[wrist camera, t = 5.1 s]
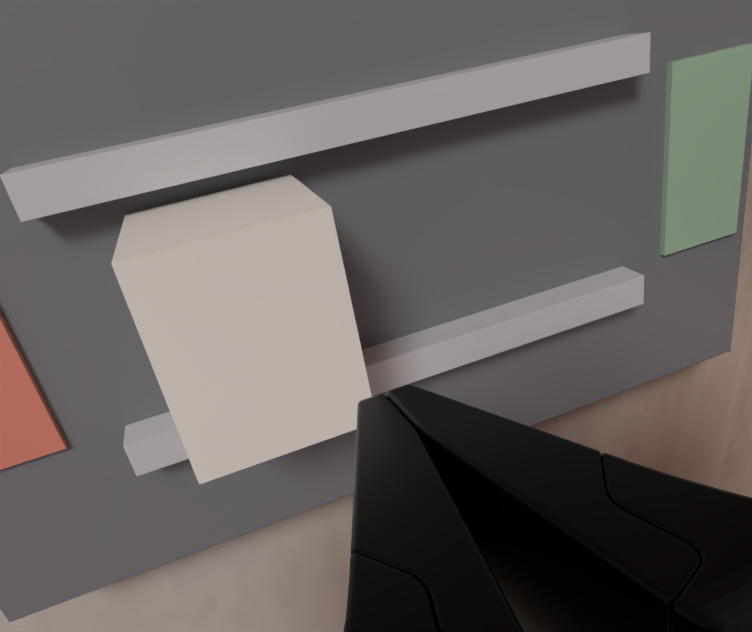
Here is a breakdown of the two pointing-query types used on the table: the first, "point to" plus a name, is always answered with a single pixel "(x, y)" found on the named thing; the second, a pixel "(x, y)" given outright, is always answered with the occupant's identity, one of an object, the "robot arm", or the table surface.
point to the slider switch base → (351, 228)
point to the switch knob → (245, 321)
